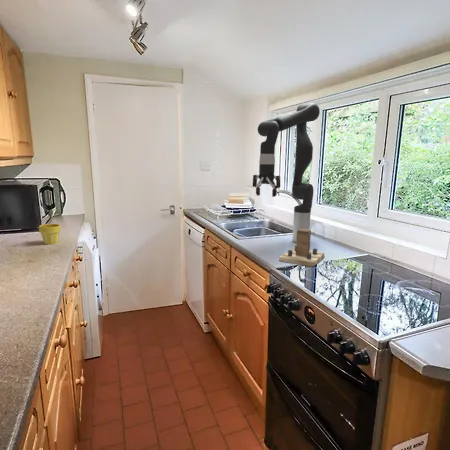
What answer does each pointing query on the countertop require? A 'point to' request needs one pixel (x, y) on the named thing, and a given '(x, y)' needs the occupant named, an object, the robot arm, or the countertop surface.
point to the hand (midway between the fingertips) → (265, 196)
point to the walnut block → (303, 242)
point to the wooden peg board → (310, 260)
